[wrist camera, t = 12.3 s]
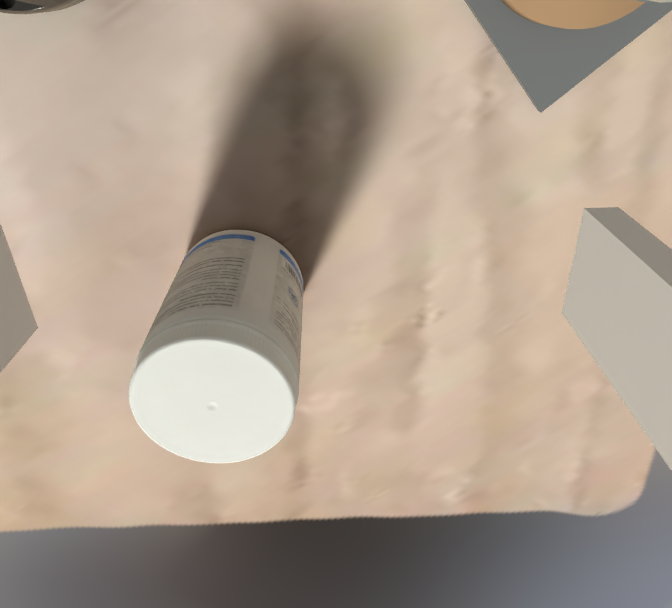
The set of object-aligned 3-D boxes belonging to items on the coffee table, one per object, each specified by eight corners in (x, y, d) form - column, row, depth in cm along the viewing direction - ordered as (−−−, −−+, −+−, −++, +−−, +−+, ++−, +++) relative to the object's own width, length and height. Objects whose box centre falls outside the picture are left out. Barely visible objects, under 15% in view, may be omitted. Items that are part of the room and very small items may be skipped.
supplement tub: (168, 307, 44) (103, 438, 32) (203, 204, 40) (144, 309, 27) (280, 347, 46) (262, 485, 34) (325, 253, 42) (323, 371, 29)
